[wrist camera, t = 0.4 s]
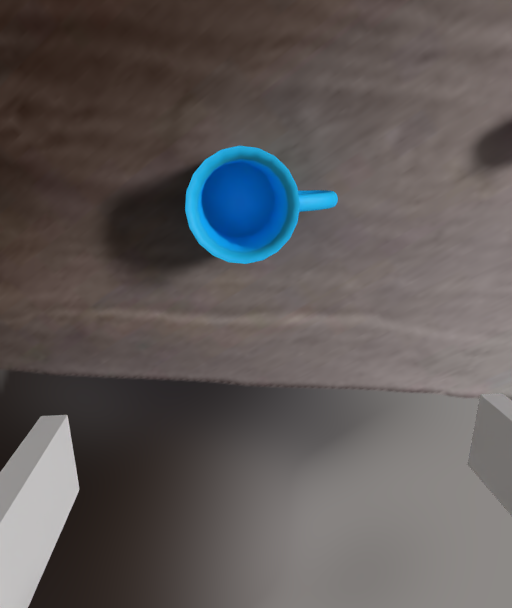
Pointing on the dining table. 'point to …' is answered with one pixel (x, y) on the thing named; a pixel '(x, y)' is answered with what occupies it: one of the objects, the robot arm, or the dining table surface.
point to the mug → (247, 204)
